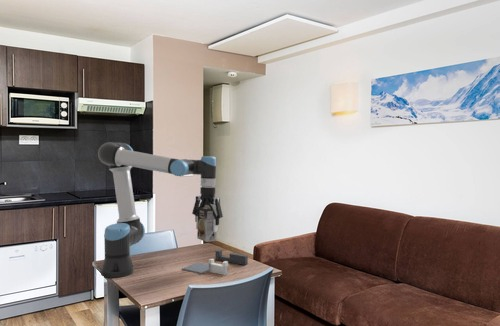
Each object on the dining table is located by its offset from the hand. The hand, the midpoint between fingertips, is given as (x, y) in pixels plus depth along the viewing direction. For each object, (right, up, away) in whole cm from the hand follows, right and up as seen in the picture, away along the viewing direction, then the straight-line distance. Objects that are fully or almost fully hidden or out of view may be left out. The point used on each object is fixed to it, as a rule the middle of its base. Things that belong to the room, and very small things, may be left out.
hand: (206, 230), depth 191 cm
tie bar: (+12, -19, +12) cm, 25 cm away
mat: (-3, -20, +1) cm, 20 cm away
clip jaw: (+6, -20, -6) cm, 22 cm away
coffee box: (0, -5, 0) cm, 5 cm away
